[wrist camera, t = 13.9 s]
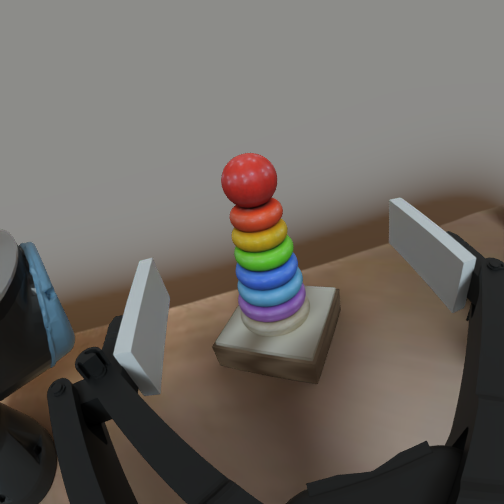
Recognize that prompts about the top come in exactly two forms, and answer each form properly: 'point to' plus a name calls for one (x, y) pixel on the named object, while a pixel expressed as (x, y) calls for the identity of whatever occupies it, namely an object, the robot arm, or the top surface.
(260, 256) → the stacking toy
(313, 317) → the pedestal
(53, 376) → the top surface
